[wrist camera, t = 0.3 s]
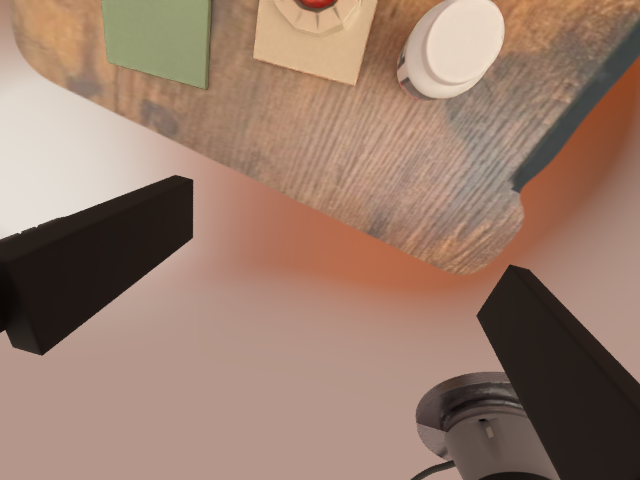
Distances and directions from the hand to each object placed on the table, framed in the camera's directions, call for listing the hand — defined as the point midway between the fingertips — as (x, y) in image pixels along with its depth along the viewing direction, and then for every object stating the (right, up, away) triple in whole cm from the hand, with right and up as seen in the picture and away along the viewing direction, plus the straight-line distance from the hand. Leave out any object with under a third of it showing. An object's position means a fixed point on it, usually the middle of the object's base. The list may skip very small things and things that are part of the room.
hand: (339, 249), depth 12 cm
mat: (-15, +21, +13) cm, 29 cm away
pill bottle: (+8, +15, +12) cm, 21 cm away
